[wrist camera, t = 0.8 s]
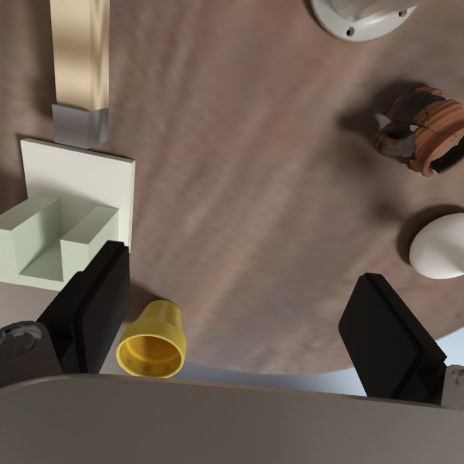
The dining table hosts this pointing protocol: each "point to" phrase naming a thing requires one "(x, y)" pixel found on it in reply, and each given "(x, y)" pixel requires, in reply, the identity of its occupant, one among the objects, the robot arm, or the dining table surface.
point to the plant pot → (153, 342)
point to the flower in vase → (440, 248)
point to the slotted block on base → (64, 213)
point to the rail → (81, 71)
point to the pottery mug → (423, 131)
